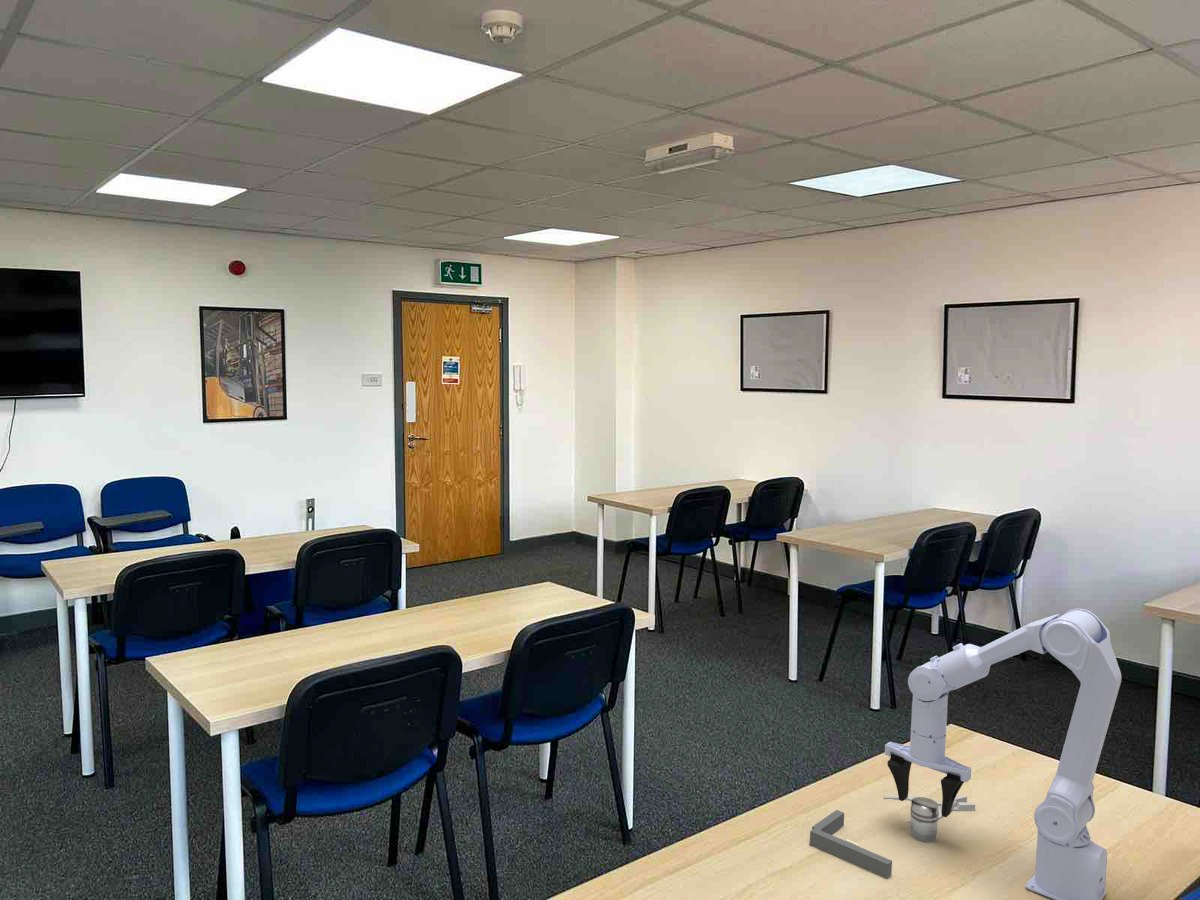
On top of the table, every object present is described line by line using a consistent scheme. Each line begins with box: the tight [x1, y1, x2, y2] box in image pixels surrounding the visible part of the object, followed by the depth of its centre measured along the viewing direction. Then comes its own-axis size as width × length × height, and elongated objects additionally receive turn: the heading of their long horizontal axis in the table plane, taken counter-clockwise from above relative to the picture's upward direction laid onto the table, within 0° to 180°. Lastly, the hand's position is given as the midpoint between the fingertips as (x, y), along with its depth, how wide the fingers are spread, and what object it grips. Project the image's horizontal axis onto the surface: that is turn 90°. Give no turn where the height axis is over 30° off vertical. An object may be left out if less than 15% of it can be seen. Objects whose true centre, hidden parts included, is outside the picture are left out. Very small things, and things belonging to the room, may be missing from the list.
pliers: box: [883, 794, 976, 824], centre depth 159 cm, size 10×2×15 cm
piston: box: [909, 796, 939, 844], centre depth 149 cm, size 5×5×6 cm
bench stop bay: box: [809, 809, 893, 879], centre depth 144 cm, size 14×10×2 cm
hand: (924, 806), depth 149 cm, fingers open, 7 cm apart
